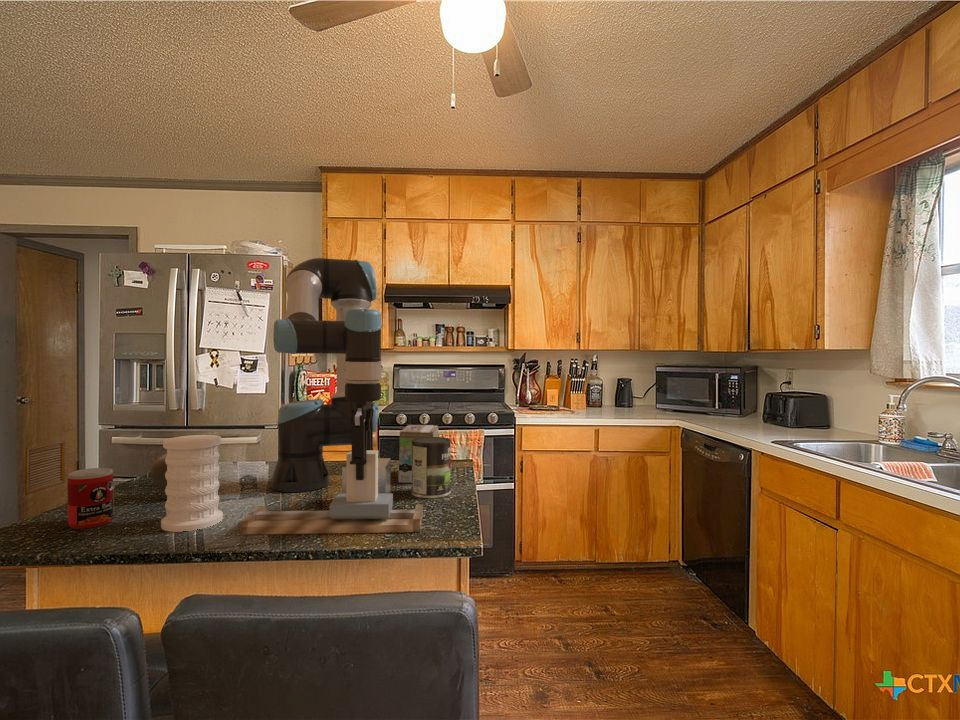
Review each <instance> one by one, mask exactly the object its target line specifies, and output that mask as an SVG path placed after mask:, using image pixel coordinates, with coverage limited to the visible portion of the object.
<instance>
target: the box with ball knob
mask: <svg viewBox="0 0 960 720" xmlns="http://www.w3.org/2000/svg"><path fill="white" fill-rule="evenodd" d="M391 460H392V459H391V458H390V457H387V458H385V457H384V458H383V457H378V494H382V493H391V464H392V463H391ZM341 494H346V463H345V464H344V465H342V467H341Z"/></svg>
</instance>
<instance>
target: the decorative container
mask: <svg viewBox="0 0 960 720" xmlns="http://www.w3.org/2000/svg"><path fill="white" fill-rule="evenodd" d="M221 444H222V436H221V435H215V434H214V435H213V434H193V435H183V436H181V435H179V436H174V437H170V438H166V439H163V440H162V447H163V448H164V449H165V450H166V454H167V456H166V458H165V462H166V464H167V471H166V473H165V478H166V480H167V486H166V489H165V493H166V495H167V499H166V501H165V504H164V509H165V510H166V516H164V517H163V518H161V521H160V528H161V529H162V530H163V531H165V532H170V533H184V532H183V531H188V532H193V530H195V531H199V529H200V530H204V529H203V528H205V529H207V527H208V528H211V527H213V525H214V526H215V524H216V525H218V524H220V523H221V522H222V521H223V520H224V512H223V510H220V509H219V507H218V506H219V503H220V495H219V489H220V486H221V485H220V481H219V474H220V471H221V470H220V467H219V459H220V457H221V456H220V453H219V446H220V445H221ZM222 519H223V520H222ZM220 521H221V522H220ZM219 522H220V523H219ZM217 523H218V524H217ZM210 526H211V527H210ZM197 529H198V530H197Z"/></svg>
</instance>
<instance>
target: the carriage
mask: <svg viewBox="0 0 960 720" xmlns="http://www.w3.org/2000/svg"><path fill="white" fill-rule="evenodd" d="M378 458H379V450H378V449H377V450H375V449H373V450H367V455H366V460H367V462H366V463H368V470H367V495H354V464H350V461H351V459H352V449H351V450H349V451H348V452H347V453H346V463H345V464H346V494H342V493H338V494H337V495H336V496H335V497H334V499H332V501H331V502H330V504H329V509H328V511H329V517H331V519H377V518H390V511H391V510H393V505H394V493H391V492H390V493H382V494H378Z"/></svg>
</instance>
